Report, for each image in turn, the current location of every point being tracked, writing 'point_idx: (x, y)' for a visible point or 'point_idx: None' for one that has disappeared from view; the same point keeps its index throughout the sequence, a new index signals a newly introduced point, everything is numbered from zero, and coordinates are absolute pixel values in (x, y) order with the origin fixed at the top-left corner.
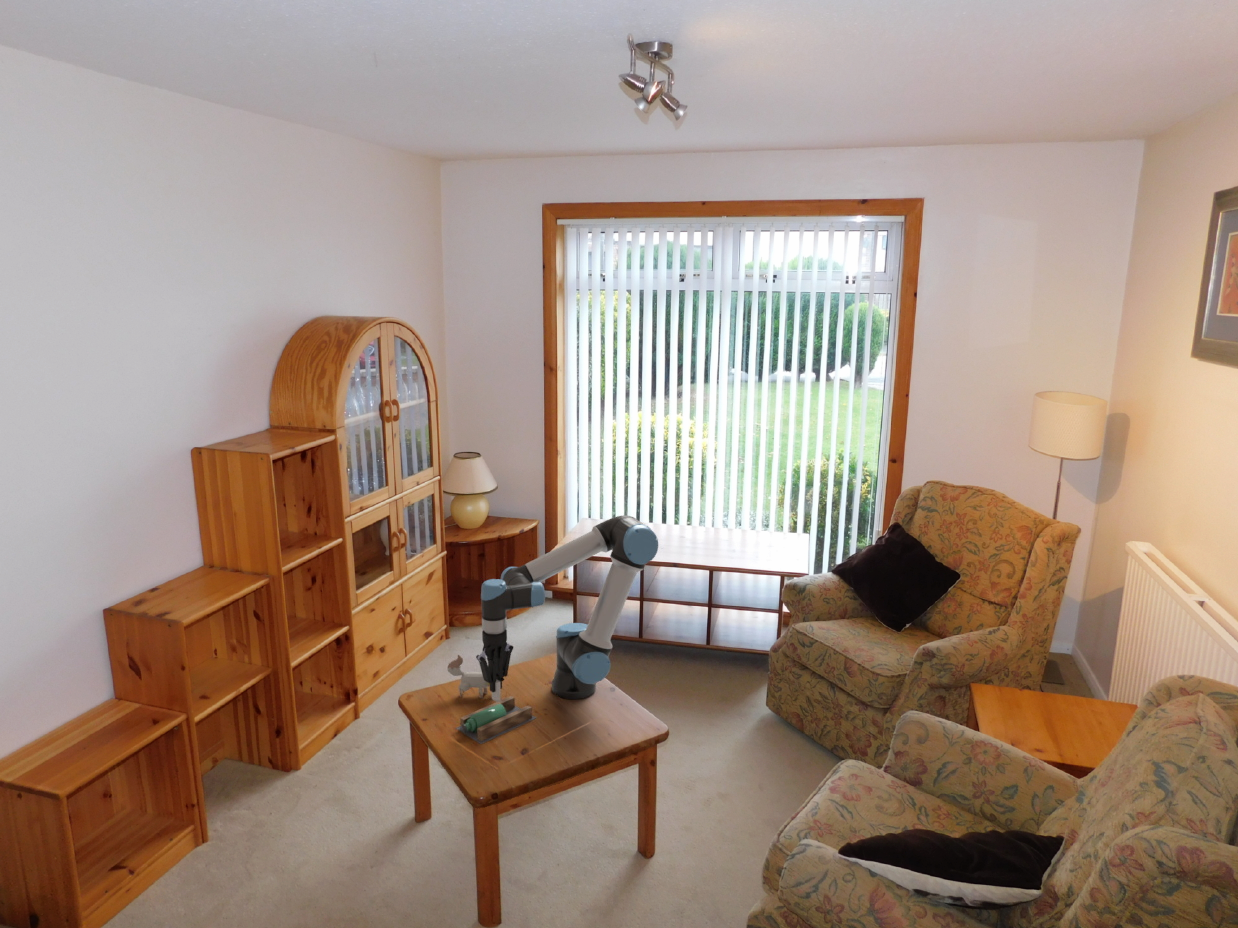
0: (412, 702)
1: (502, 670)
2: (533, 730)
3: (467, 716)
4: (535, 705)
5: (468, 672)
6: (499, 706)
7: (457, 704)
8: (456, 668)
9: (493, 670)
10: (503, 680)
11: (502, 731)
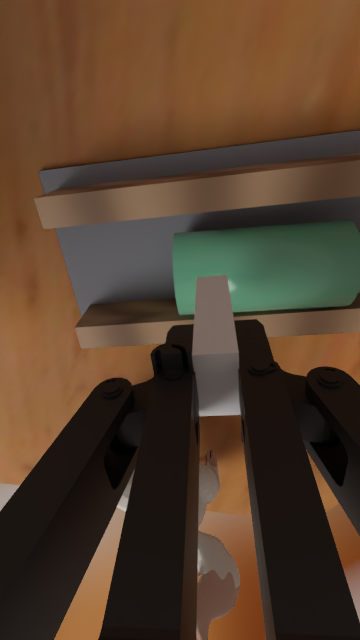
0: (329, 499)
1: (144, 440)
2: (100, 74)
3: (337, 321)
4: (6, 273)
5: None
6: (193, 279)
7: (240, 431)
8: (216, 570)
9: (306, 485)
10: (165, 343)
11: (235, 166)
